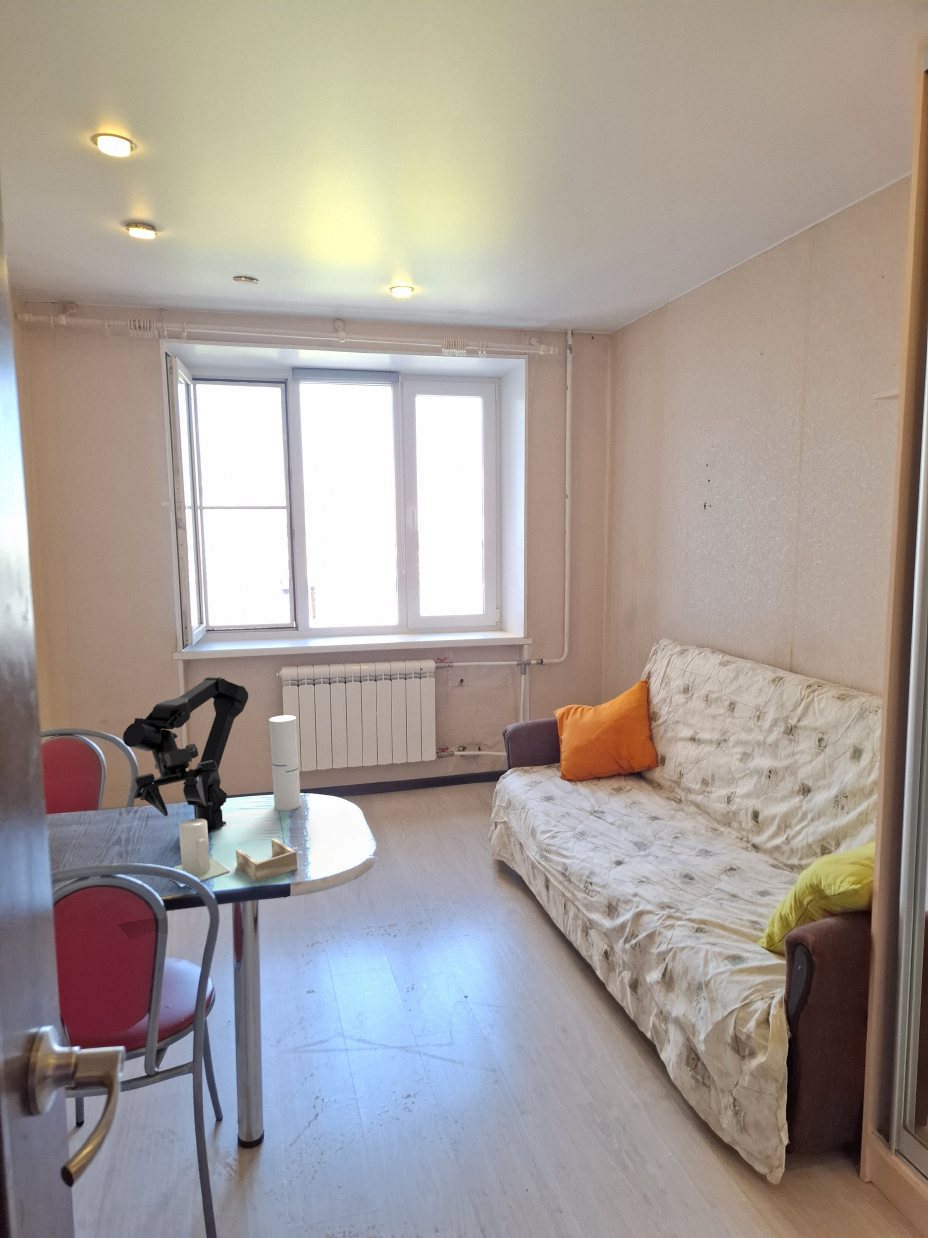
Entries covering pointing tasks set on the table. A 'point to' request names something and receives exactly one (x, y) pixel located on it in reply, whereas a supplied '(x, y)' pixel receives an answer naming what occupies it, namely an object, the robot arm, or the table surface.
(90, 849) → the table surface
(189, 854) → the rounded top cylinder
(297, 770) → the cylindrical container
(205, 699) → the robot arm
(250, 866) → the frame
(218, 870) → the sage mat
